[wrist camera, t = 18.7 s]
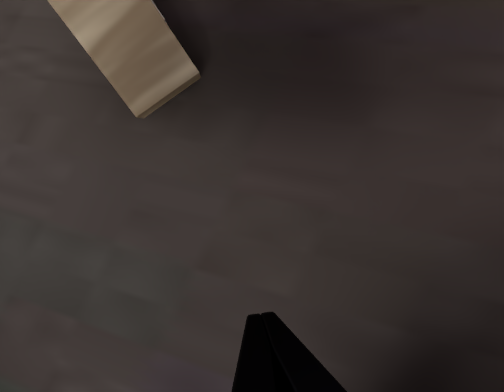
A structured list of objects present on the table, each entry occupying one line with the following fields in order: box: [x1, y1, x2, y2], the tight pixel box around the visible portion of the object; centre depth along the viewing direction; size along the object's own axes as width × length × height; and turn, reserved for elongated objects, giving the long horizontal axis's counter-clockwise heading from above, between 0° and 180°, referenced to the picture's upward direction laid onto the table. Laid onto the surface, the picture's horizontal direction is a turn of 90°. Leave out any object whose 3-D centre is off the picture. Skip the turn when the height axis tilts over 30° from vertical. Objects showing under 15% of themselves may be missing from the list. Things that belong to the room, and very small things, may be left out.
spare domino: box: [48, 0, 201, 118], centre depth 19 cm, size 2×5×10 cm
